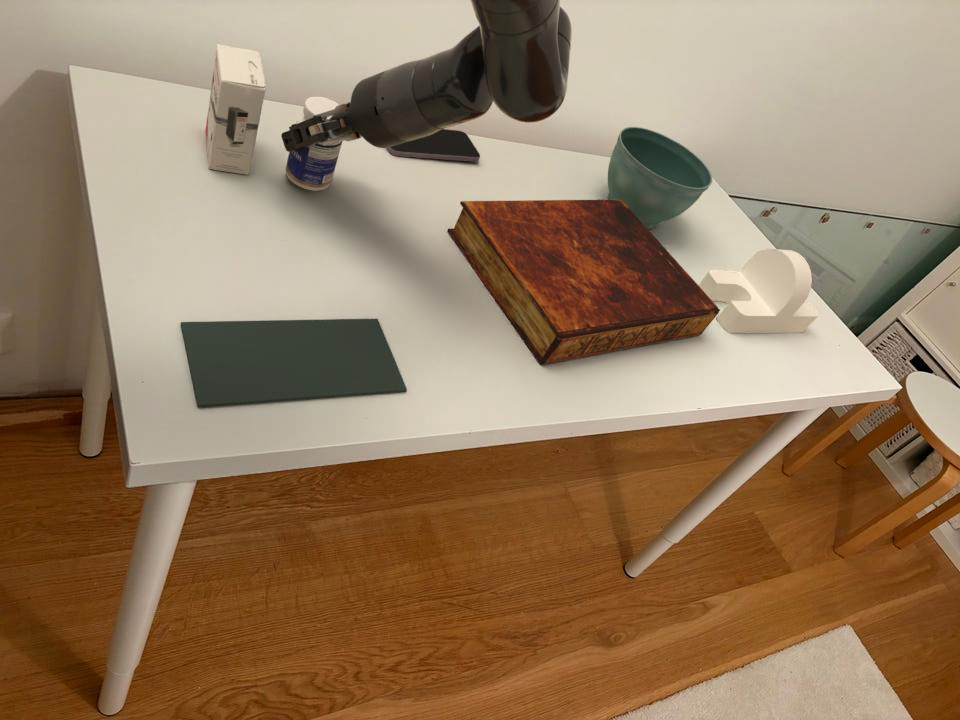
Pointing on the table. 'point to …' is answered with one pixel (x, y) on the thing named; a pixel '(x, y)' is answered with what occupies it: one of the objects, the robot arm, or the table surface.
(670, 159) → the green bowl
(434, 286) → the table surface
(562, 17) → the robot arm
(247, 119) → the ink box
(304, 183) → the pill bottle
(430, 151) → the smartphone
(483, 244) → the book
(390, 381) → the mat
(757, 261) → the white slotted holder
